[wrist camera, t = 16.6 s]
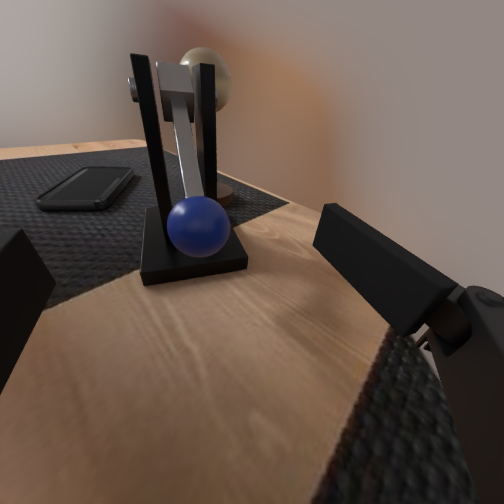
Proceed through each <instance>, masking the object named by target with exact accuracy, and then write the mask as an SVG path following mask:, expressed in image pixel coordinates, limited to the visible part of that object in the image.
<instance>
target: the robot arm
mask: <svg viewBox="0 0 504 504" xmlns="http://www.w3.org/2000/svg"><path fill="white" fill-rule="evenodd" d="M313 246H314V247H315V248H316V249H317V250H318V251H319V252H320V254H321V255H322V256H323V257H324V258H325V259H326V260H327V261H328V262H329V263H330V264H331V265H332V266H333V267H334V268H335V269H336V270H337V271H338V272H339V273H340V274H341V275H342V276H343V277H344V278H345V279H346V280H347V281H348V282H349V283H350V284H351V285H352V286H353V287H354V288H355V289H356V291H357V292H358V293H359V294H360V295H361V296H362V297H363V298H364V299H365V300H366V301H367V302H368V303H369V304H370V305H371V306H372V307H373V308H374V309H375V310H376V311H377V312H378V313H379V314H380V315H381V316H382V317H383V318H384V319H385V320H386V321H387V322H388V323H389V324H390V325H391V327H392V328H393V329H394V330H395V331H396V332H397V333H398V334H399V335H400V336H401V337H402V338H403V337H405V336H408V335H411V334H414V333H416V332H417V331H418V330H419V329H420V328H421V326H422V325H423V324H424V323H425V324H426V325H427V326H428V327H430V328H429V329H428V330H427V331H426V332H425V333H424V334H423V335H422V337H420V339H419V340H418V341H417V342H416V347H420V346H421V345H422V344H423V343H424V342H425V341H428V343H427V344H426V345H425V346H424V349H425V350H428V351H431V352H432V355H433V358H434V362H435V365H436V368H437V371H438V374H439V377H440V380H441V383H442V387H443V390H444V393H445V396H446V399H447V402H448V405H449V408H450V412H451V415H452V418H453V421H454V424H455V427H456V430H457V433H458V437H459V440H460V443H461V446H462V449H463V452H464V455H465V458H466V462H467V465H468V468H469V471H470V474H471V477H472V480H473V483H474V487H475V490H476V493H477V496H478V499H479V502H480V504H504V297H502V296H501V295H499V294H497V293H495V292H493V291H491V290H489V289H486V288H483V287H479V286H468V287H467V288H466V289H465V288H463V287H462V286H460V285H459V284H458V283H456V282H455V281H453V280H452V279H450V278H449V277H447V276H446V275H444V274H443V273H441V272H440V271H438V270H437V269H435V268H433V267H432V266H430V265H429V264H427V263H426V262H424V261H423V260H421V259H420V258H418V257H417V256H415V255H414V254H412V253H411V252H409V251H408V250H406V249H405V248H403V247H402V246H400V245H399V244H397V243H396V242H394V241H393V240H391V239H390V238H388V237H386V236H385V235H383V234H382V233H380V232H379V231H377V230H376V229H374V228H373V227H371V226H370V225H368V224H367V223H365V222H364V221H362V220H361V219H359V218H358V217H356V216H355V215H353V214H352V213H350V212H349V211H347V210H346V209H344V208H342V207H341V206H339V205H338V204H337V203H331V204H324V207H323V211H322V214H321V218H320V221H319V224H318V228H317V231H316V235H315V238H314V241H313ZM55 285H56V282H55V280H54V278H53V277H52V275H51V274H50V272H49V270H48V269H47V267H46V266H45V264H44V262H43V261H42V259H41V258H40V256H39V255H38V253H37V251H36V250H35V248H34V247H33V245H32V243H31V242H30V240H29V239H28V237H27V235H26V234H25V232H24V231H23V229H22V228H20V229H7V230H0V395H1V393H2V391H3V389H4V387H5V385H6V383H7V381H8V379H9V377H10V375H11V373H12V371H13V369H14V367H15V365H16V363H17V361H18V359H19V357H20V355H21V353H22V351H23V349H24V347H25V345H26V343H27V341H28V339H29V337H30V335H31V333H32V331H33V329H34V327H35V325H36V323H37V321H38V319H39V317H40V315H41V313H42V311H43V309H44V307H45V305H46V303H47V301H48V299H49V297H50V295H51V293H52V291H53V289H54V287H55Z"/></svg>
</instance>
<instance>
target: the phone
mask: <svg viewBox="0 0 504 504" xmlns="http://www.w3.org/2000/svg"><path fill="white" fill-rule="evenodd" d="M133 176H134V172H133V168H131V167H106V166H87V167H83V168H81V169H80V170H78V171H77V172H75V173H73V174H72V175H70V176H69V177H67V178H66V179H64V180H63V181H61V182H60V183H58V184H56V185H55V186H53V187H52V188H50V189H49V190H47V191H46V192H44V193H42V194H41V195H39V196H38V197H36V198H35V199H34V201H35V203H36V204H37V206H38V208H39V209H40V210H102V209H105V208H107V207H109V206H110V205H111V203H112V202H113V201H114V200H115V198H116V197H117V196H118V195H119V194H120V192H121V191H122V190H123V189H124V187H125V186H126V185H127V184H128V183H129V181H130V180H131V179H132V178H133Z"/></svg>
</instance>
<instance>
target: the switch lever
mask: <svg viewBox="0 0 504 504" xmlns="http://www.w3.org/2000/svg"><path fill="white" fill-rule="evenodd" d="M156 66H157V74H158V81H159V88H160V96H161V103H162V110H163V116H164V121H166V122H173V127H174V134H175V140H176V147H177V153H178V159H179V165H180V172H181V178H182V184H183V190H184V197H185V199H183V200H181V201H180V202H178V203H177V204H176V205H175V206H174V207H173V209H172V210H171V212H170V214H169V216H168V220H167V232H168V235H169V238H170V240H171V242H172V243H173V245H174V246H175V247H176V248H177V249H178V250H179V251H180V252H182V253H184V254H186V255H188V256H191V257H198V258H201V257H208V256H211V255H213V254H215V253H217V252H218V251H219V250H220V249H222V247H223V246H224V245H225V243H226V242H227V240H228V237H229V234H230V221H229V218H228V215H227V213H226V211H225V210H224V209H223V207H222V206H221V205H220V204H219V203H217V202H216V201H215V200H213V199H211V198H208V197H204V192H203V187H202V182H201V177H200V171H199V166H198V161H197V156H196V151H195V146H194V140H193V135H192V130H191V124H190V123H194V90H193V85H192V80H191V75H190V71H189V66H188V65H182V64H174V63H166V62H158V61H157V62H156Z"/></svg>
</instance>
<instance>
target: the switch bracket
mask: <svg viewBox="0 0 504 504" xmlns="http://www.w3.org/2000/svg"><path fill="white" fill-rule="evenodd" d="M130 58H131V64H132V69H133V74H134V78H131V77H129V78H128V79H129V80H128V81H129V87H130V92H131V96H132V100H133V102H138V103H139V106H140V111H141V117H142V122H143V127H144V132H145V138H146V143H147V148H148V154H149V159H150V164H151V169H152V175H153V180H154V185H155V191H156V196H157V201H158V206H159V207H152V208H146V210H145V221H144V232H143V243H142V254H141V265H140V275H141V279H142V282H143V285H144V286H148V285H154V284H160V283H166V282H172V281H178V280H184V279H190V278H196V277H202V276H208V275H214V274H220V273H226V272H232V271H238V270H244V269H247V265H248V255H247V254H246V252H245V250H244V248H243V246H242V244H241V242H240V240H239V238H238V237H237V235H236V233H235V231H234V229H233V227H232V225H231V223H230V234H229V237H228V240H227V242H226V243H225V245H224V246H223V247H222V249H220V250H219V251H218V252H217V253H215V254H213V255H211V256H208V257H201V258H198V257H191V256H188V255H186V254H184V253H182V252H180V251H179V250H178V249H177V248H176V247H175V246H174V245H173V243H172V242H171V240H170V238H169V235H168V232H167V220H168V216H169V214H170V212H171V210H172V209H173V207H174V206H172V205H171V198H170V191H169V185H168V178H167V171H166V165H165V158H164V152H163V145H162V138H161V132H160V125H159V118H158V112H157V105H156V98H155V92H154V86H153V78H152V72H151V65H150V61H149V58H148V56H147V55H140V54H132V53H131V54H130ZM192 82H193V90H194V113H195V127H196V141H197V142H196V143H197V159H198V166H199V171H200V177H201V182H202V187H203V192H204V197H208V198H211V199H213V200H215V201H216V202H217V155H216V154H217V153H216V108H217V106H218V90H217V87H216V86H215V65H214V64H208V63H198V64H196V65H194V66H192ZM219 204H220V203H219ZM220 205H221V204H220Z"/></svg>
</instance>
